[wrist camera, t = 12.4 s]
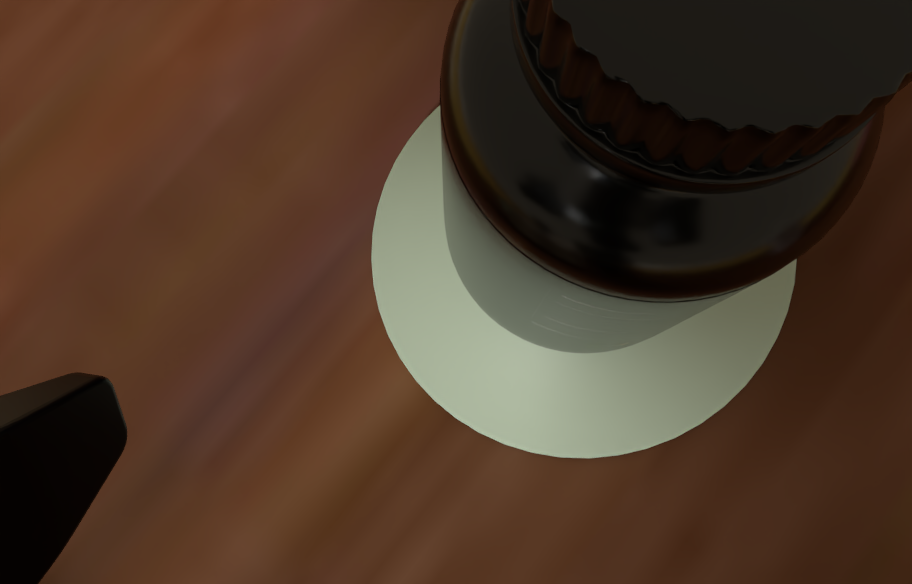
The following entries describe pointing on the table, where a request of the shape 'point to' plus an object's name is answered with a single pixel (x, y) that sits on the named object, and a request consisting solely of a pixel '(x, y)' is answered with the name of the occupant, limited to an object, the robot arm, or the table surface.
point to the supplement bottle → (652, 151)
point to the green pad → (541, 369)
